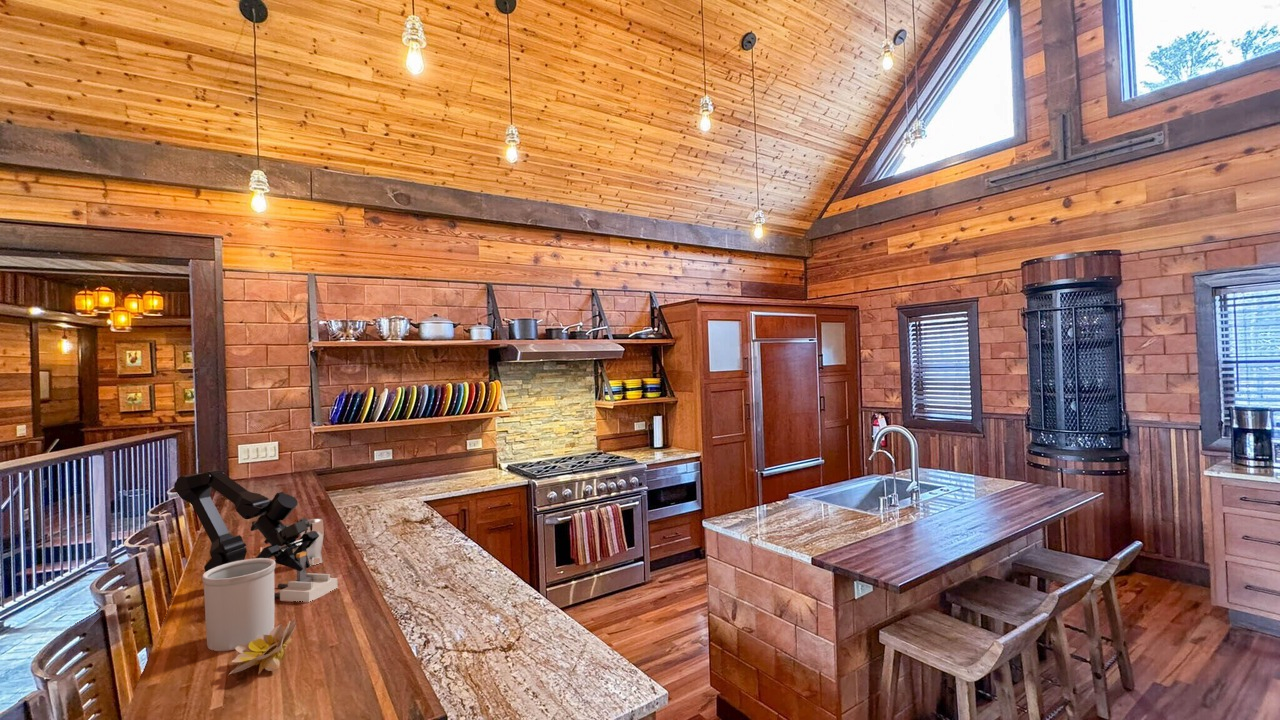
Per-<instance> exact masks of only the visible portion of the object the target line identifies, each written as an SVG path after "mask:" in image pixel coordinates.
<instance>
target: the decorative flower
mask: <svg viewBox="0 0 1280 720" xmlns="http://www.w3.org/2000/svg"><path fill="white" fill-rule="evenodd" d="M296 621H297V618H294V619H293V620H292V621H291V620H289V621H288V623H287V625H286V626H285V629H284V626H283V624H281V623H280V624H279V625H277V626H274V628H273V630H272V631H271V632H270V634H269V635H263V636H261V637H260V638H256V639H254V640H253V641H251V642H250V643H247V644H243V645H239V646H237V647H236V648H235V649H234V650H236V651H237V652H238V653H239V654H238V655H236V657H235V658H234V659H232V660H231V663H234V664H237V666H236V667H235V668H233V670H231V671H230V673H229V674H228V676H229V675H232V674H235V673H239V672H241V671H244V670H247V669H249V668H251V667H253V666H256V667H257V666H258V665H259V666H258V676H259V675H260V674H261V673H262V671H263V670H264V669H265V671H269V672H270V671H271V672H274V671H275V670H277V669H280V660H281V659H282V658H283V656H284V653H285V649H287V648H288V646H289V645H287V644H290V643H292V642H293V641H292V640H293V638H291V636H292V634H293V633H294V631H295V630H296V629H295V628H296V626H297V623H296Z"/></svg>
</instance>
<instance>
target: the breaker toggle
mask: <svg viewBox="0 0 1280 720" xmlns="http://www.w3.org/2000/svg"><path fill="white" fill-rule="evenodd" d="M296 557H297V560H298V561H299V562H300V564H301V565H302V567H303V570H302V571H298V570H296V580H295V581H300V582H309V581H311V580H312V577H306V574H307V568H306V552H300V553H298V554H296Z"/></svg>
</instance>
